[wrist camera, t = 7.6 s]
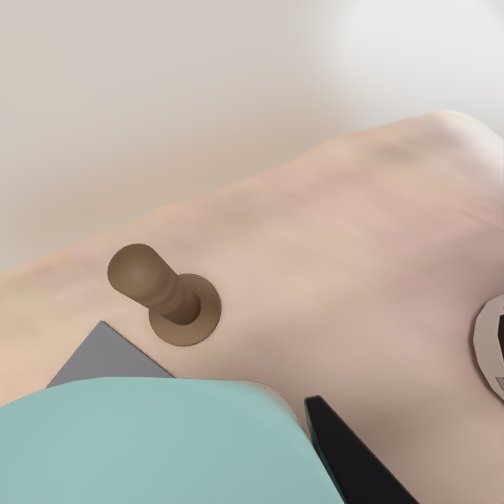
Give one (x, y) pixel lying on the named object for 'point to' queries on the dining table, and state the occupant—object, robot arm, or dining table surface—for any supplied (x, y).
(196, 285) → the walnut gate posts
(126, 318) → the dining table surface
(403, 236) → the dining table surface
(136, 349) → the charcoal rubber mat
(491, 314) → the supplement can
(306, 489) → the teal bottle
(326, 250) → the dining table surface
